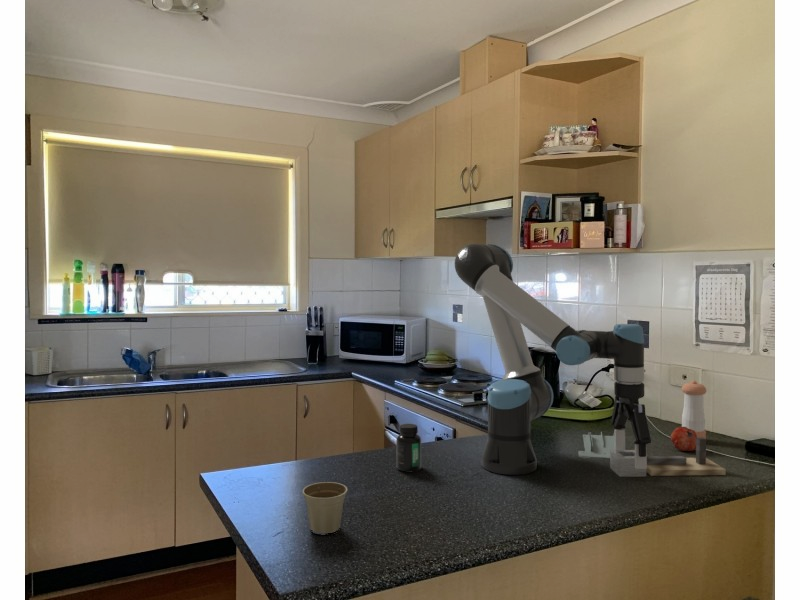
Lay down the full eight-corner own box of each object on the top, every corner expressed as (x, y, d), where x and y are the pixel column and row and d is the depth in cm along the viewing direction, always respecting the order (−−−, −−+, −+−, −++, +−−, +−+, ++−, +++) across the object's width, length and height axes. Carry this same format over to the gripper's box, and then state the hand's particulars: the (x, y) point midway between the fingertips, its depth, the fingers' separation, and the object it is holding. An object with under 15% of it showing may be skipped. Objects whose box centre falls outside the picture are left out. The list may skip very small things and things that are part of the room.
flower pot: (349, 519, 129) (348, 481, 129) (346, 539, 120) (346, 497, 119) (306, 520, 129) (305, 482, 129) (300, 540, 120) (299, 498, 119)
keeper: (651, 475, 156) (651, 444, 156) (635, 463, 166) (635, 433, 166) (725, 474, 156) (726, 443, 156) (705, 462, 166) (705, 433, 166)
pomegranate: (666, 454, 181) (676, 442, 173) (665, 432, 185) (675, 419, 177) (692, 458, 180) (703, 446, 172) (690, 436, 184) (701, 423, 176)
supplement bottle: (421, 472, 159) (421, 429, 159) (396, 472, 159) (396, 429, 159) (420, 464, 166) (420, 422, 166) (396, 464, 166) (396, 422, 166)
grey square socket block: (619, 476, 155) (620, 458, 155) (610, 468, 162) (610, 450, 162) (646, 476, 155) (646, 457, 155) (635, 467, 162) (635, 449, 162)
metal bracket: (576, 427, 184) (626, 430, 181) (575, 443, 186) (625, 446, 182) (579, 453, 171) (634, 456, 167) (578, 470, 172) (633, 474, 169)
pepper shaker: (675, 438, 190) (676, 379, 189) (691, 435, 193) (692, 378, 192) (695, 444, 184) (696, 383, 183) (710, 441, 187) (712, 381, 186)
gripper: (664, 390, 145) (665, 475, 146) (624, 374, 170) (625, 446, 171) (634, 391, 145) (635, 476, 146) (598, 374, 170) (599, 447, 171)
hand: (630, 460), depth 158 cm, fingers open, 13 cm apart
